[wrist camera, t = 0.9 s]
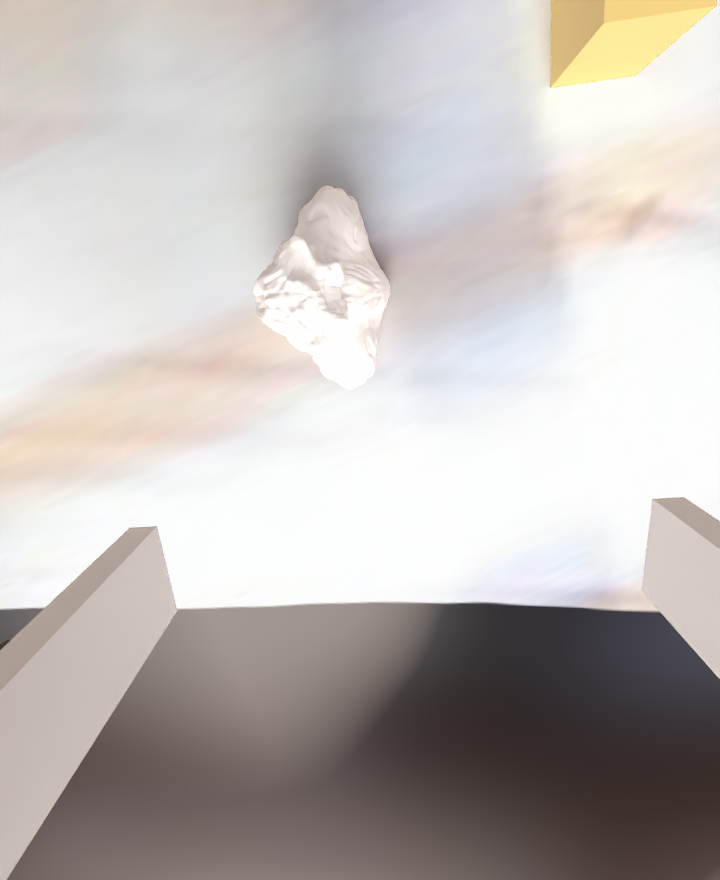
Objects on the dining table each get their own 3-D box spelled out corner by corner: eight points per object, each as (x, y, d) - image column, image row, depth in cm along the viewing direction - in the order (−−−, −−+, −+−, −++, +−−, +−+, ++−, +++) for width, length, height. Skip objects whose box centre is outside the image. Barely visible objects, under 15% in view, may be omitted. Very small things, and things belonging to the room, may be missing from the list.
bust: (327, 206, 32) (181, 193, 24) (417, 178, 28) (272, 150, 20) (348, 374, 36) (227, 410, 28) (431, 376, 31) (313, 420, 23)
